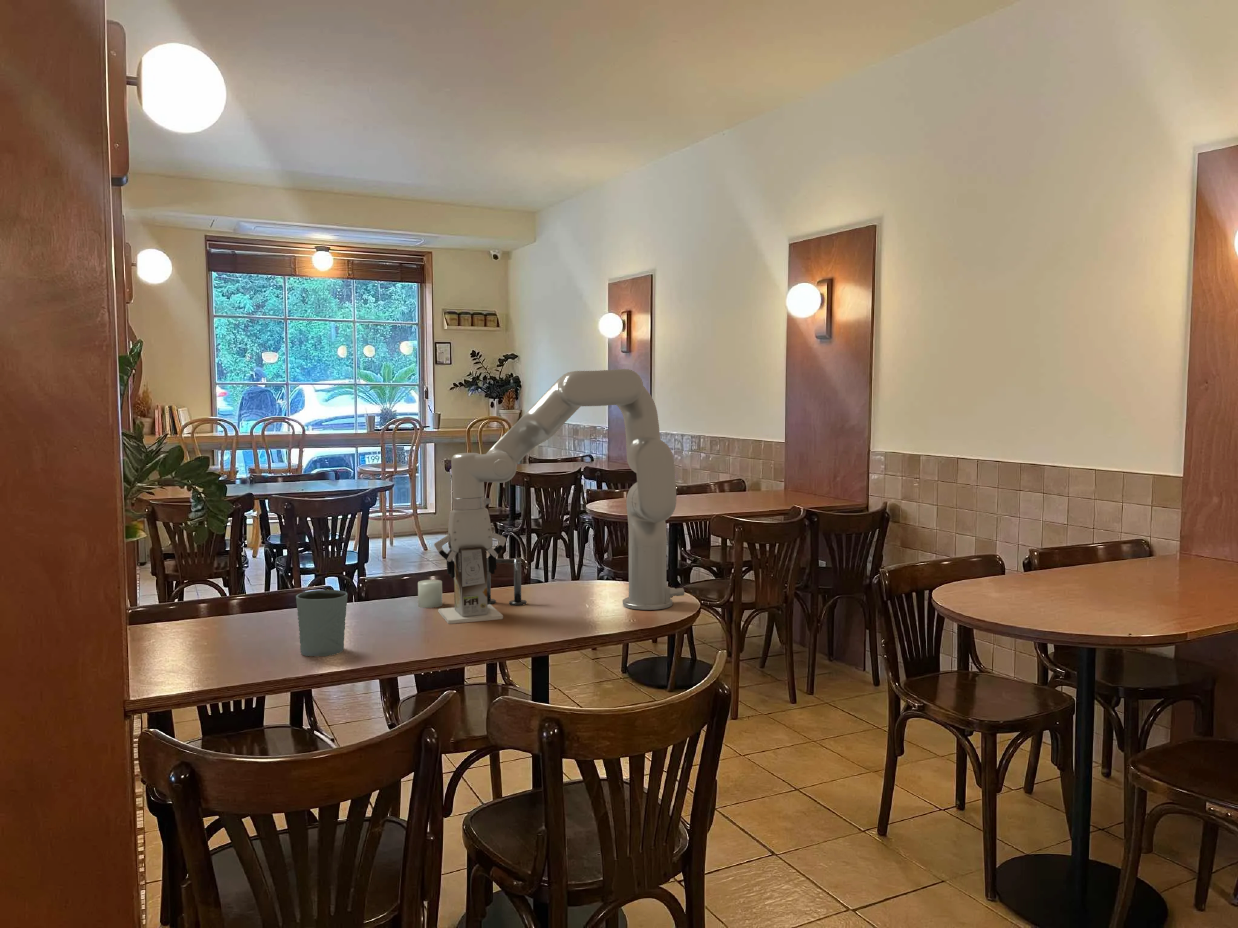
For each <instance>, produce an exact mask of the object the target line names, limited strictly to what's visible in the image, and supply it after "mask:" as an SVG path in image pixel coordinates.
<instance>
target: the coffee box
mask: <svg viewBox="0 0 1238 928" xmlns="http://www.w3.org/2000/svg"><path fill="white" fill-rule="evenodd" d="M487 553H488V551H487V548H485V547H474V548H460V549H459V552H458V553H457V554H456V555H455V556H454V558H453V561H454V568H455V577H454V578H453V584H454V585H453V587H454V588H453V589H454V599H453V600H454V606H455V610H456V611H457V612H458V613H459V614H460V615H462V616H463V617H466V616H476V615H486V614H487V558H488V557H487V555H488V554H487Z"/></svg>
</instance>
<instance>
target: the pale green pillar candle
mask: <svg viewBox="0 0 1238 928" xmlns="http://www.w3.org/2000/svg"><path fill="white" fill-rule="evenodd" d="M417 601H418V602H417V603H418V607H419V608H422V609H433V608H434V607H435V608H440V607H442V606H443V581H442V580H441V579H424V580H420V581H419V580H418V582H417ZM435 608H434V609H435Z"/></svg>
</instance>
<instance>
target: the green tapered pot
mask: <svg viewBox="0 0 1238 928" xmlns="http://www.w3.org/2000/svg"><path fill="white" fill-rule="evenodd" d="M348 595H349V594H348V592H347V591H344V590H338V589H321V590H320V589H319V590H318V589H317V590H310V591H305V592H300V593H298V594H296V595H295V599H296V600H295V603H296V610H297V620H298V631H299V633H298V634H299V637H298V639H299V644H300V645H299V650H300V653H301V655H302V656H304V655H305V656H304V657H308V656H324V657H329V656H328V655H331V656H334V654H335V655H338V654H340V653H342V652H343V651H344V649H345V630H346V616H347V606H348ZM337 653H338V654H337Z"/></svg>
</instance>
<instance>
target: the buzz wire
mask: <svg viewBox="0 0 1238 928" xmlns="http://www.w3.org/2000/svg"><path fill="white" fill-rule="evenodd" d="M499 563H501V564H513V596H514V598H513V599H511V600H509V601H508V603H509V604H510V606H514V607H515V606H516V607H520V606H524V605H523V604H525V605H527V604H526V603H527V600H526V599H522V559H521V558H496V564H499ZM491 579H492V578H491V573H490V572H489V564H488V557H487V605H489V604H490V605H494V604H496V603H497V600H496V599H495V598H492V596H491V595H492V594H491V593H492V592H491V591H492V588H491V585H492V583H491ZM509 604H508V605H509ZM454 607H455V605H454ZM454 607H453V608H454Z"/></svg>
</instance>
